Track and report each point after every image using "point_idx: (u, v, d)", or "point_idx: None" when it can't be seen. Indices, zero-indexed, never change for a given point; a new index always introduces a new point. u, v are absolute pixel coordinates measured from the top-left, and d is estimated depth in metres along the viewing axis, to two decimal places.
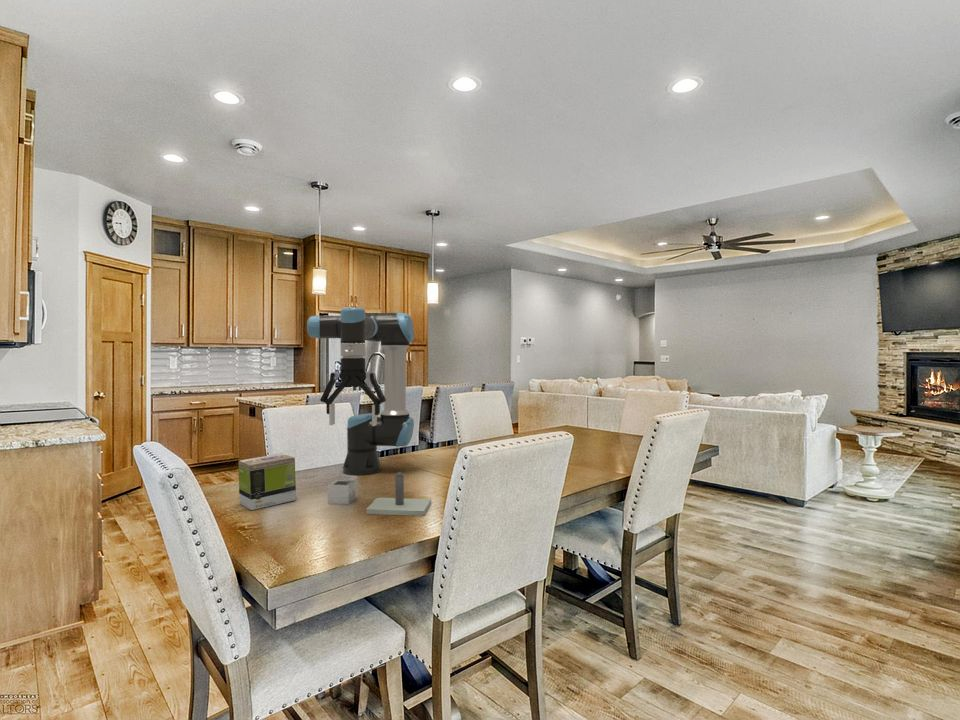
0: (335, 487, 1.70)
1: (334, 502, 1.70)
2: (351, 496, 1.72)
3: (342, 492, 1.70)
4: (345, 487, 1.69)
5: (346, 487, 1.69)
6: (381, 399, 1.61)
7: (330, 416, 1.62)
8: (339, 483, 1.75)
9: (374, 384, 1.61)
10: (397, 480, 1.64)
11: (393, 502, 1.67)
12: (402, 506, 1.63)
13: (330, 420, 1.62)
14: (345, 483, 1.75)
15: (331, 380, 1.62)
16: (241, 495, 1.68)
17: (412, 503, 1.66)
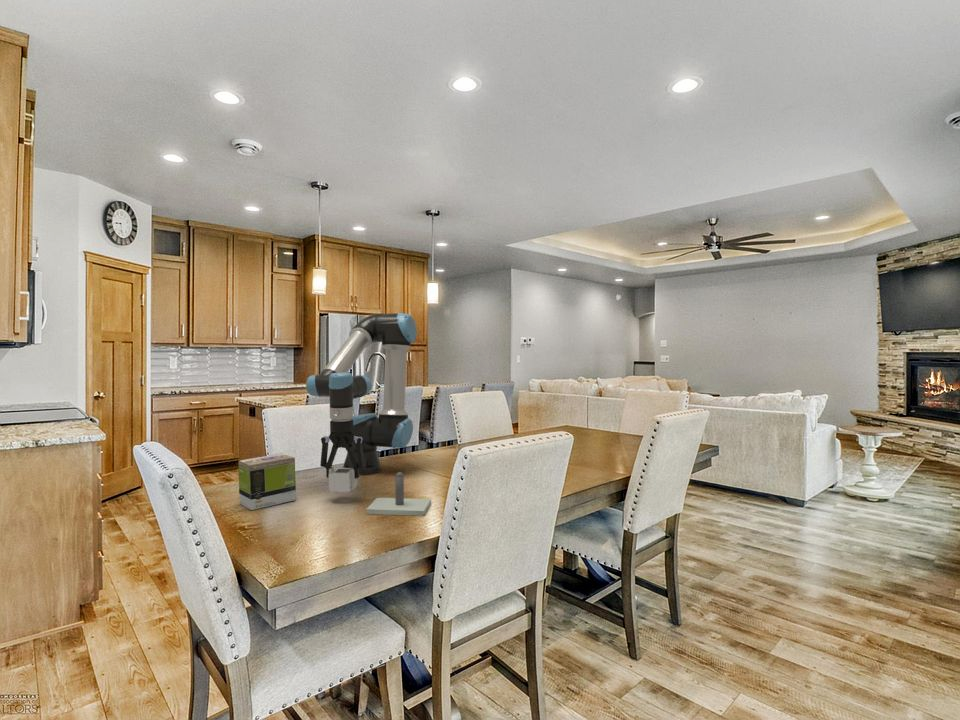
0: (336, 475, 1.70)
1: (335, 490, 1.70)
2: None
3: (343, 480, 1.70)
4: (346, 474, 1.70)
5: (347, 475, 1.70)
6: (360, 464, 1.72)
7: None
8: (340, 471, 1.76)
9: (358, 449, 1.71)
10: (397, 480, 1.64)
11: (393, 502, 1.67)
12: (402, 506, 1.63)
13: None
14: (346, 471, 1.76)
15: (323, 445, 1.72)
16: (241, 495, 1.68)
17: (412, 503, 1.66)
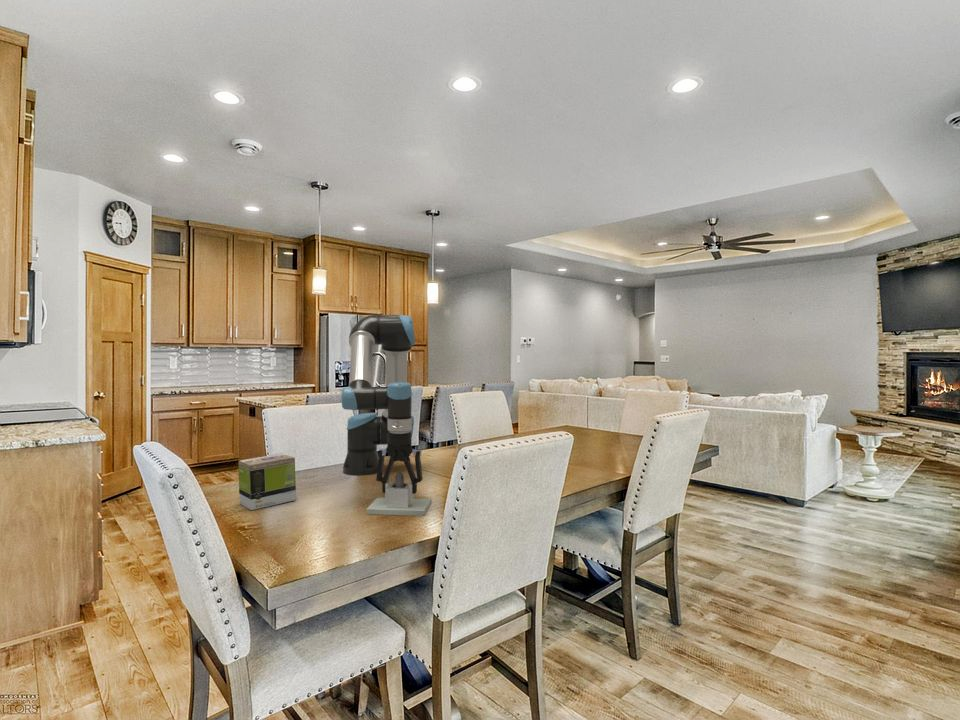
0: (393, 490, 1.62)
1: (392, 505, 1.62)
2: None
3: (401, 495, 1.61)
4: (404, 489, 1.61)
5: (405, 490, 1.61)
6: (419, 479, 1.63)
7: None
8: None
9: (417, 462, 1.63)
10: (397, 480, 1.64)
11: None
12: None
13: None
14: None
15: (380, 458, 1.64)
16: (241, 495, 1.68)
17: None
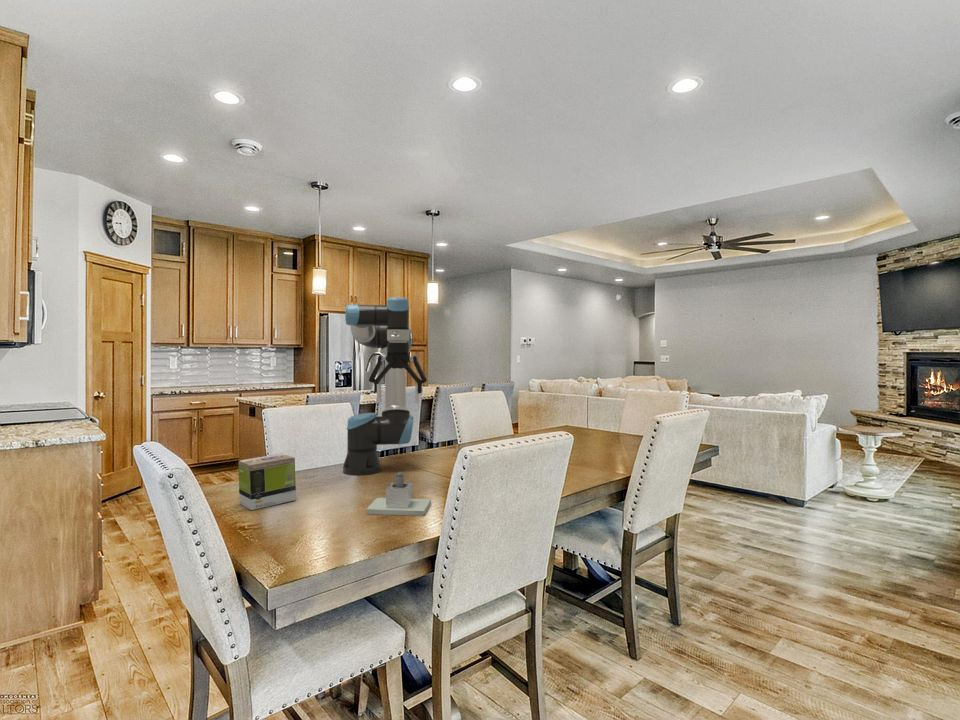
0: (393, 490, 1.62)
1: (392, 506, 1.62)
2: (410, 499, 1.64)
3: (401, 495, 1.61)
4: (404, 489, 1.61)
5: (405, 490, 1.61)
6: (423, 379, 1.80)
7: (377, 394, 1.82)
8: None
9: (417, 366, 1.80)
10: (397, 480, 1.64)
11: None
12: None
13: (377, 398, 1.82)
14: None
15: (378, 362, 1.82)
16: (241, 495, 1.68)
17: (412, 503, 1.66)
